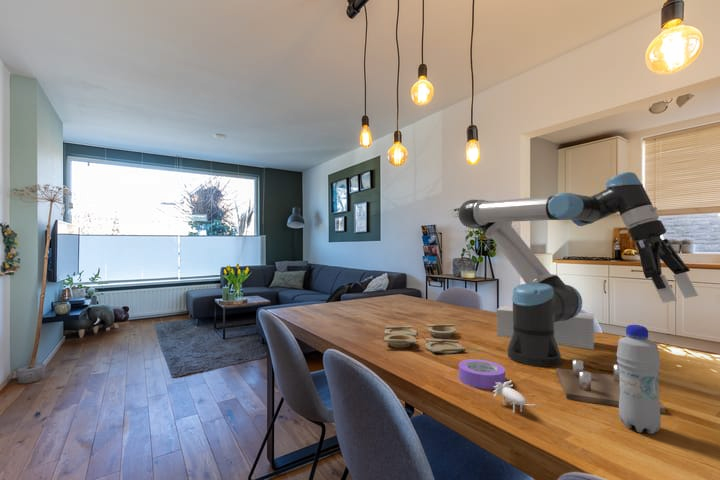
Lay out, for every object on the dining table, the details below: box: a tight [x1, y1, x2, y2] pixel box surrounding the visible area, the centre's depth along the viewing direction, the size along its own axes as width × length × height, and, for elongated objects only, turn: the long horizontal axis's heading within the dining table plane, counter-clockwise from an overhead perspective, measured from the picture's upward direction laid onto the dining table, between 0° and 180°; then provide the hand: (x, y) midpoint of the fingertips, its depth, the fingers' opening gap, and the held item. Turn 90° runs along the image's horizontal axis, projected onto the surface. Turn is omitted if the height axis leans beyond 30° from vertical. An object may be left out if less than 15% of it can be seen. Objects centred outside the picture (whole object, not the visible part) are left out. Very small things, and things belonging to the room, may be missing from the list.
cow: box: [492, 379, 537, 414], centre depth 73 cm, size 12×5×5 cm, turn 13°
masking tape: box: [458, 358, 506, 390], centre depth 90 cm, size 12×12×4 cm
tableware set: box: [382, 323, 467, 354], centre depth 128 cm, size 35×29×4 cm
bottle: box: [616, 324, 662, 435], centre depth 66 cm, size 7×7×20 cm
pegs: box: [571, 358, 620, 391], centre depth 83 cm, size 11×11×4 cm
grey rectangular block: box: [496, 305, 595, 350], centre depth 130 cm, size 32×11×11 cm, turn 54°
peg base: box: [555, 367, 666, 415], centre depth 83 cm, size 18×18×1 cm
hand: (681, 299), depth 87 cm, fingers open, 13 cm apart
